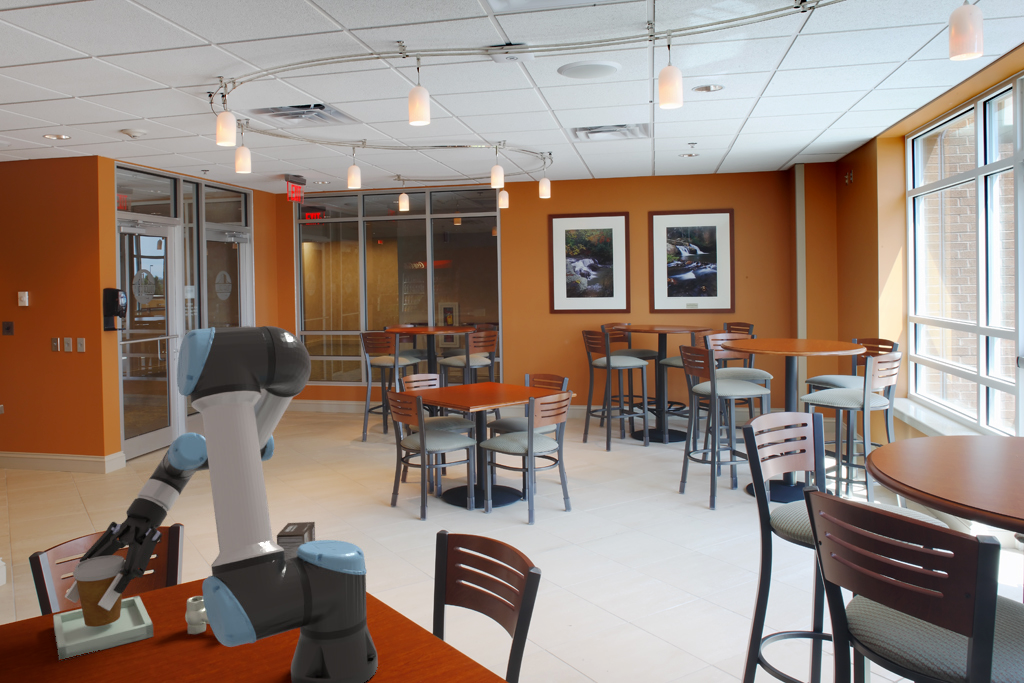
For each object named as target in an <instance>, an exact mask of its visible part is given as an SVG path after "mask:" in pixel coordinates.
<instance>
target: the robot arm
mask: <svg viewBox="0 0 1024 683" xmlns="http://www.w3.org/2000/svg"><path fill="white" fill-rule="evenodd" d="M177 359H178V360H177V369H176V370H177V371H176V382H177V384H176V385H177V387H178V392H179V394H180V395H181V396H185V397H189V396H190V403H191V408H193V409H194V410H195V411H197V412H199V413H200V414H201V416H202V423H203V431H204V435H202V434H199V433H197V432H186V433H183V434H181V435H179V436H178V437H177V438H176V439H175V440H173V441H172V442H171V444H170V445H169V447H168V450H166V453H165V454H164V455H163V457H162V459H161V461H160V462H159V464H158V465H157V467H156V468H155V470H154V471H153V472H152V473H151V476H150V477H149V478H148V479H147V480H146V482H145V484H144V485H143V486H142V488H141V489H140V491H139V492H138V494H137V498H135V499H134V500H133V501H132V502H131V504H130V505H129V507H128V509H127V510H126V516H127V517H126V519H125V520H124V521H123V522H121V523H117V522H116V521H112V522H110V524H109V525H108V527H107V529H106V530H105V531H104V532H103V533H102V535H101V536H100V537H99V538H98V539H97V540H96V541H95V542H94V543H93V544H92V545H91V547H89V549H88V550H87V551H86V552H85V554H83V555H82V557H81V558H80V559H79V563H80V562H82V561H85V560H87V559H91V558H95V557H100V556H108V555H114V554H116V552H118V551H119V550H120V549H124V548H125V547H126V546H128V548H127V553H126V556H125V559H124V560H125V564H124V568H123V570H121V571H120V572H121V573H122V574H123V575H122V574H119V573H118V574H117V576H116V577H115V579H114V580H113V582H112V583H111V585H110V587H109V588H108V590H107V591H106V593H105V594H104V596H103V597H102V599H101V600H100V602H99V603H98V605H99V606H101V607H103V608H104V609H106V610H109V611H110V610H111V608H112V606H113V605H114V603H115V602H116V600H117V599H118V597H119V596H120V594H122V595H123V593H124V592H125V590H126V588H127V587H128V585H129V584H130V582H131V581H132V580H134V579H135V578H138V579H140V578H143V576H144V574H145V572H146V570H147V567H148V565H149V563H150V560H151V558H152V555H153V553H154V551H155V549H156V546H157V545H158V542H159V541H160V540H161V538H162V537H163V533H161V532H160V531H159V530H158V528H160V526H161V525H162V524H163V522H164V520H165V519H166V517H167V516H168V513H167V512H170V511H171V509H172V508H173V506H174V505H175V503H176V501H177V500H178V499H179V497H180V495H181V493H183V490H184V489H185V488H186V486H187V485H188V484H189V482H190V480H191V479H192V477H193V475H195V473H196V472H201V471H209V479H210V486H211V488H210V489H211V493H212V494H211V495H212V501H213V509H214V510H213V511H214V519H215V526H216V534H217V543H218V550H219V553H218V554H217V556H216V558H215V559H214V560H213V562H212V563H211V574H212V575H209V576H208V577H206V578H205V579H203V581H202V586H201V588H202V590H201V591H202V596H203V601H204V606H205V610H206V614H207V617H208V620H209V623H210V624H209V625H210V628H211V630H212V633H213V634H214V636H215V638H216V639H217V641H218V642H219V643H220V644H221V645H223V646H225V647H230V648H232V647H238V646H240V645H245V644H254V643H256V642H257V641H260V640H262V639H267V638H269V637H272V636H277V635H279V634H282V633H285V632H290V631H293V630H295V629H296V630H297V629H299V637H298V641H297V645H296V647H295V651H294V653H293V658H292V660H291V665H290V678H291V683H364V682H365V683H367V682H368V681H369V680H371V679H372V678H373V677H374V676H375V674H376V673H377V671H378V668H377V667H379V666H378V665H379V661H378V660H379V659H378V657H379V656H378V652H377V648H376V646H375V642H374V641H373V638H372V636H371V633H370V630H369V627H368V622H367V579H366V577H367V575H366V574H367V569H366V562H365V561H366V560H365V554H364V551H363V550H362V549H361V548H360V546H358V545H357V544H355V543H351V542H348V541H342V540H335V539H320V540H319V539H317V540H315V541H310V542H306V543H304V544H302V545H300V546H299V547H298V550H297V552H296V554H297V557H294V558H290V559H285V555H284V549H283V548H282V547H280V546H279V545H277V542H275V541H274V539H273V537H274V536H273V531H272V524H271V518H270V517H271V516H270V512H269V511H270V510H269V504H268V497H267V489H266V483H265V475H264V467H263V462H266V461H269V460H271V459H272V458H273V456H274V450H275V440H274V436H273V433H274V431H275V430H276V427H277V426H278V425H279V422H280V420H281V419H282V417H283V415H284V414H285V412H286V410H287V409H288V407H289V405H290V404H291V401H292V400H293V398H294V397H297V395H299V394H300V393H302V391H304V390H305V387H306V385H307V384H308V382H309V381H310V380H309V379H310V377H311V372H312V362H311V357H310V353H309V352H308V350H307V348H306V345H305V344H304V343H303V342H302V341H301V339H299V338H298V337H297V336H296V335H295V334H293V333H292V332H290V331H288V330H287V329H284V328H283V327H282V328H281V327H278V326H271V325H269V326H268V325H267V326H266V325H264V326H237V327H236V326H235V327H214V326H211V327H210V328H197V329H192V330H190V331H188V332H187V333H186V334H185V335H184V337H183V338H182V341H181V343H180V348H179V352H178V358H177ZM64 598H65V599H67V600H68V601H71V602H72V603H76V604H77V603H78V601H80V596H79V592H78V587H77V581H76V579H75V578H74V582H73V583H72V585H71V586H70V588H69V589H68V590H67V591H66V593H65V595H64ZM376 670H377V671H376ZM375 672H376V673H375ZM373 675H374V676H373ZM372 676H373V677H372ZM371 677H372V678H371ZM370 678H371V679H370ZM367 680H368V681H367ZM366 681H367V682H366Z"/></svg>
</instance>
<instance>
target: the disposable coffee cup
mask: <svg viewBox="0 0 1024 683" xmlns="http://www.w3.org/2000/svg"><path fill="white" fill-rule="evenodd" d="M125 560H126V559H125V558H124V556H121V555H118V554H117V555H114V554H113V555H108V556H100V557H95V558H91V559H87V560H85V561H82V562H79V563H77V564H76V565H75V566H74V571H73V572H72V575H73V577H74V580H75V579H76V581H77V587H78V592H79V596H80V598H79V601H80V605H81V606H80V607H81V609H82V612H83V616H84V622H85V625H86V626H91V627H97V626H104V625H107V624H110V623H113V622H115V621H116V620H118V619H119V618H120V612H121V601H122V599H123V593H122V594H120V596H119V597H118V599H117V600H116V602H115V603H114V605H113V606H112V608H111V610H110V611H109V610H106V609H104V608H103V607H101V606H99V605H98V603H99V602H100V600H101V599H102V597H103V596H104V594H105V593H106V591H107V590H108V588H109V587H110V585H111V583H112V582H113V580H114V579H115V577H116V576H117V574H118V573H119V574H122V573H121V572H120V571H121V570H123V568H124V564H125ZM122 575H123V574H122Z"/></svg>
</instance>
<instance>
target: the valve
mask: <svg viewBox="0 0 1024 683" xmlns="http://www.w3.org/2000/svg"><path fill="white" fill-rule="evenodd" d="M184 618H185V621H186V623H187V634H188V635H190V634H191V635H198V634H201V633H204V632H206V630H207V624H208V625H210V623H209V620H208V617H207V614H206V610H205V606H204V601H203V595H194V596H192V597H189V598H187V600H186V612H185V616H184Z"/></svg>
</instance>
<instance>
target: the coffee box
mask: <svg viewBox="0 0 1024 683" xmlns="http://www.w3.org/2000/svg"><path fill="white" fill-rule="evenodd" d="M315 524H316V523H315V521H305V522H302V521H301V522H287V524H286V525H285V526H284V527H283V528H282V529H281V530H280V531H279V532H278V533H277V535H276V544H277V545H279V546H280V547H282V548H283V549H284V555H285V559H290V558H294V557H297V554H296V552H297V550H298V547H299V546H300V545H302V544H304V543H306V542H310V541H316V531H315V530H316V527H315V526H316V525H315Z"/></svg>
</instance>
